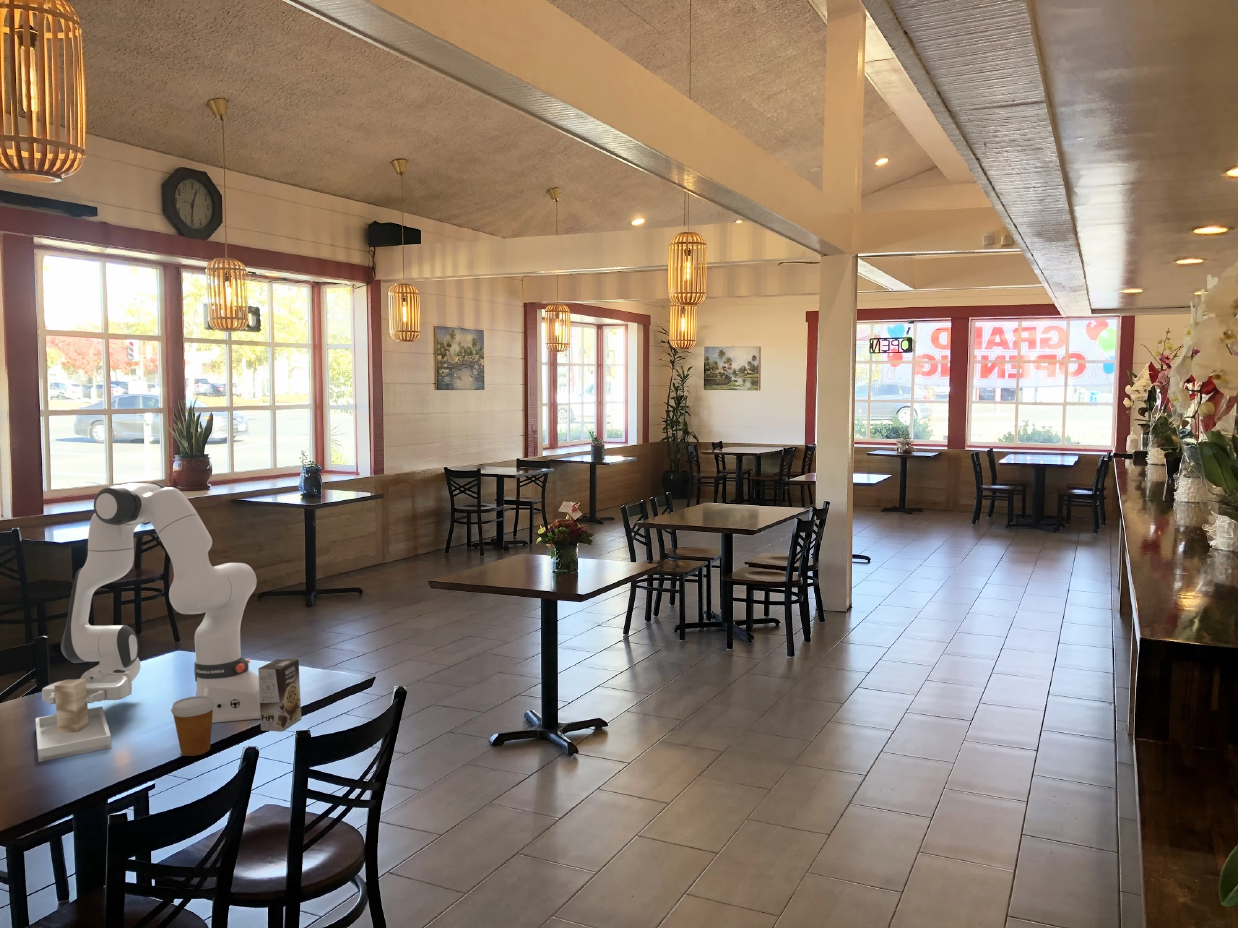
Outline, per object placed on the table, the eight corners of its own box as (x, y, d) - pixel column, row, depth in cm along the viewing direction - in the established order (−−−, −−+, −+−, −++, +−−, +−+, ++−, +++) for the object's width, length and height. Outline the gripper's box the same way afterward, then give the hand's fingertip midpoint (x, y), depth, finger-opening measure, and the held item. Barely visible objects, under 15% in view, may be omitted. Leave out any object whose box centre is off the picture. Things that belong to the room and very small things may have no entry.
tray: (111, 747, 227) (110, 735, 227) (38, 761, 219) (37, 749, 219) (102, 717, 249) (102, 706, 249) (36, 729, 241) (35, 717, 241)
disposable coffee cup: (206, 758, 219) (203, 707, 218) (166, 759, 219) (162, 708, 218) (224, 742, 229) (221, 694, 228) (185, 743, 229) (182, 695, 228)
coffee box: (283, 732, 235) (280, 668, 234) (260, 730, 236) (256, 667, 235) (302, 719, 244) (299, 658, 243) (280, 718, 245) (277, 657, 244)
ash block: (88, 724, 241) (85, 678, 240) (78, 731, 236) (74, 685, 235) (69, 725, 240) (65, 679, 240) (57, 732, 235) (54, 685, 235)
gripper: (58, 673, 250) (26, 689, 236) (136, 670, 250) (109, 687, 237) (60, 696, 251) (28, 714, 237) (137, 693, 251) (110, 711, 237)
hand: (69, 700), depth 237 cm, fingers open, 8 cm apart
